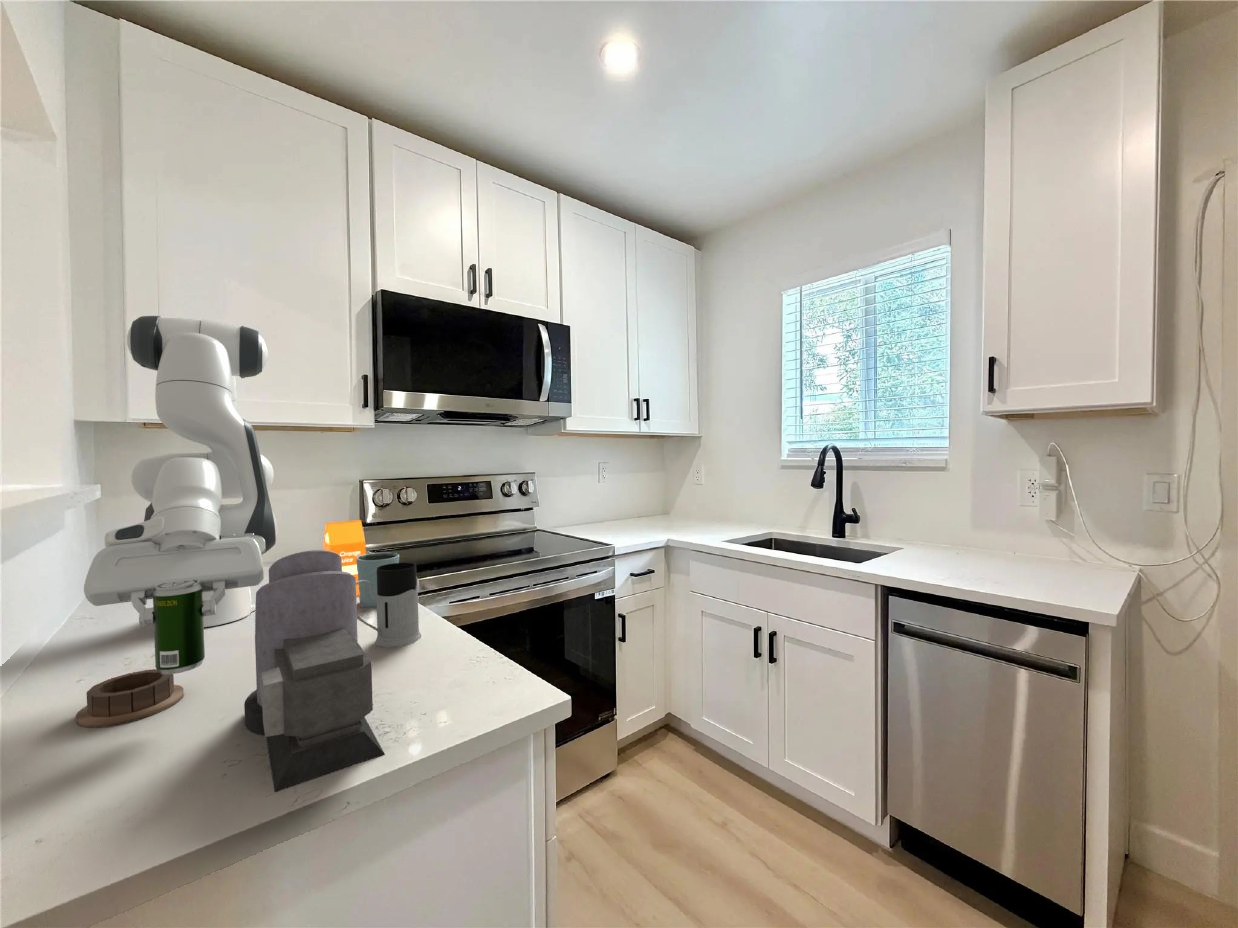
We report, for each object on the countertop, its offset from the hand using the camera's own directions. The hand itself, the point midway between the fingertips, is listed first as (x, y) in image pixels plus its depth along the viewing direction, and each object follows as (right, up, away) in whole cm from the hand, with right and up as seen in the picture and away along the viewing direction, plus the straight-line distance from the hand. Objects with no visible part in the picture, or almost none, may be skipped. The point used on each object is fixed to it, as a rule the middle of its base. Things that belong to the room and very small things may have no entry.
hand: (178, 618), depth 74 cm
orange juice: (-12, -14, +68) cm, 71 cm away
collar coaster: (-12, -15, +6) cm, 20 cm away
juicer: (+19, -15, +1) cm, 24 cm away
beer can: (0, -7, +1) cm, 7 cm away
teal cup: (+1, -14, +61) cm, 62 cm away
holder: (+15, -14, +31) cm, 38 cm away
